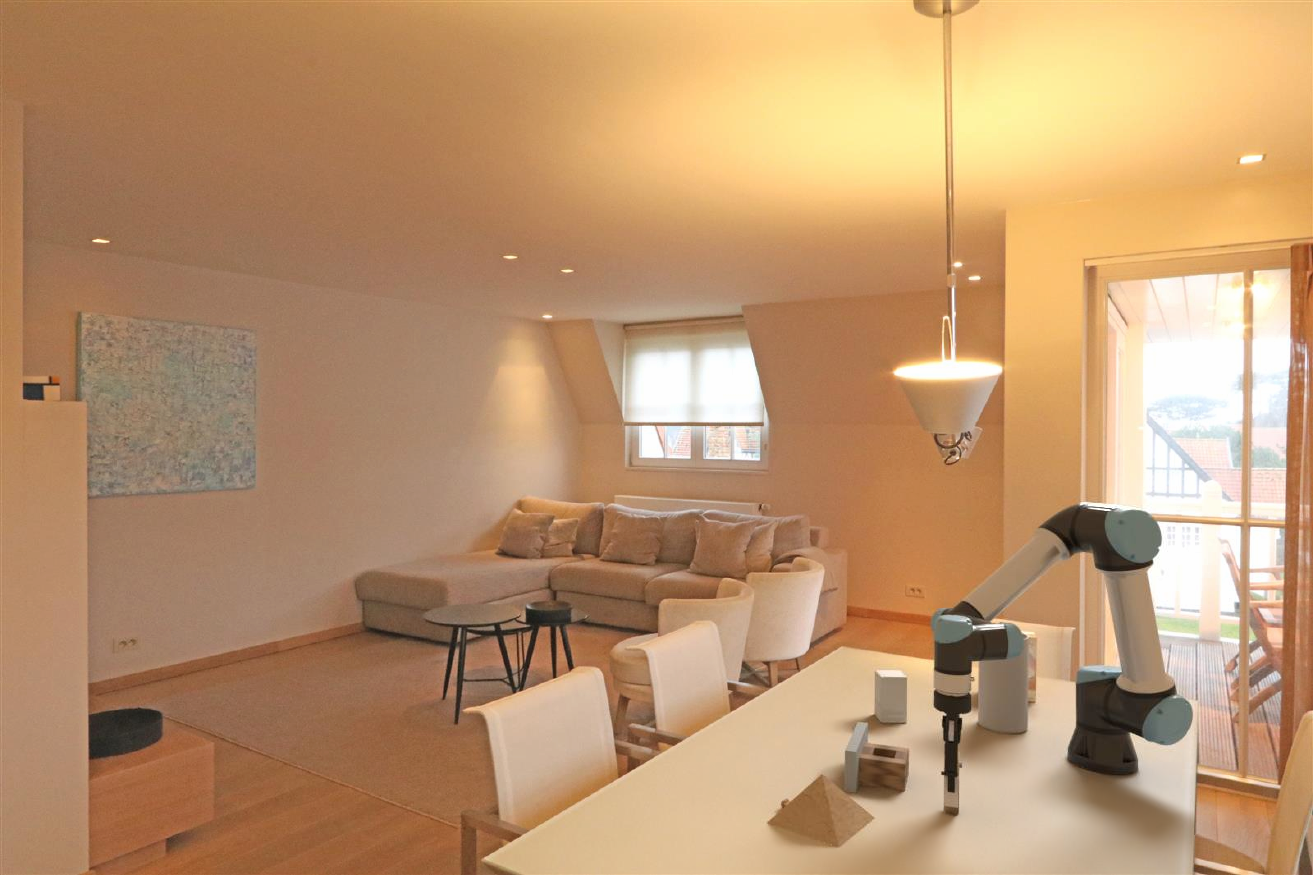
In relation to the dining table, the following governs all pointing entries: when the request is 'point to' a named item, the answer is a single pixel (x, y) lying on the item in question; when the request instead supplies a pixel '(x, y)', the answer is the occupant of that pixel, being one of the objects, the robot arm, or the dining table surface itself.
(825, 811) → the model pyramid
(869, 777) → the block
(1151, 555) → the robot arm
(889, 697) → the supplement box
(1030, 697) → the coffeecake box
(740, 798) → the dining table surface
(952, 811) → the dowel
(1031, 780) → the dining table surface
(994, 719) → the cylinder vase
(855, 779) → the panel
